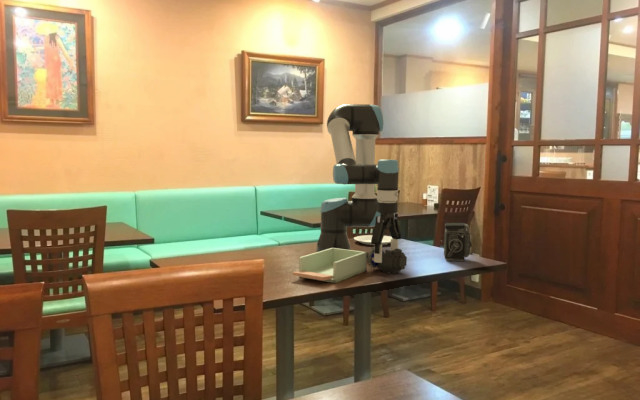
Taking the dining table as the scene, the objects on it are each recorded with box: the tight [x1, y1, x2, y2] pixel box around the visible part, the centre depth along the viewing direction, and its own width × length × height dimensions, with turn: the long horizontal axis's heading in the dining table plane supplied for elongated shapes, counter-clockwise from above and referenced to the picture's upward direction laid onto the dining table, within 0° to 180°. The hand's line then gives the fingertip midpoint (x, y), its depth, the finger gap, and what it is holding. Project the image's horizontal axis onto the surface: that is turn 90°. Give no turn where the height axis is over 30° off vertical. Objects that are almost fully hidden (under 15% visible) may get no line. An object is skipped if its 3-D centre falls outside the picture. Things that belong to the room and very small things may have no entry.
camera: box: [443, 222, 473, 262], centre depth 208 cm, size 10×10×15 cm
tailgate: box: [292, 270, 333, 281], centre depth 172 cm, size 12×1×7 cm
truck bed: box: [298, 248, 368, 284], centre depth 183 cm, size 15×22×7 cm
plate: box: [353, 234, 393, 246], centre depth 247 cm, size 21×21×2 cm
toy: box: [367, 246, 408, 275], centre depth 187 cm, size 9×9×15 cm
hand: (386, 259), depth 187 cm, fingers open, 13 cm apart
